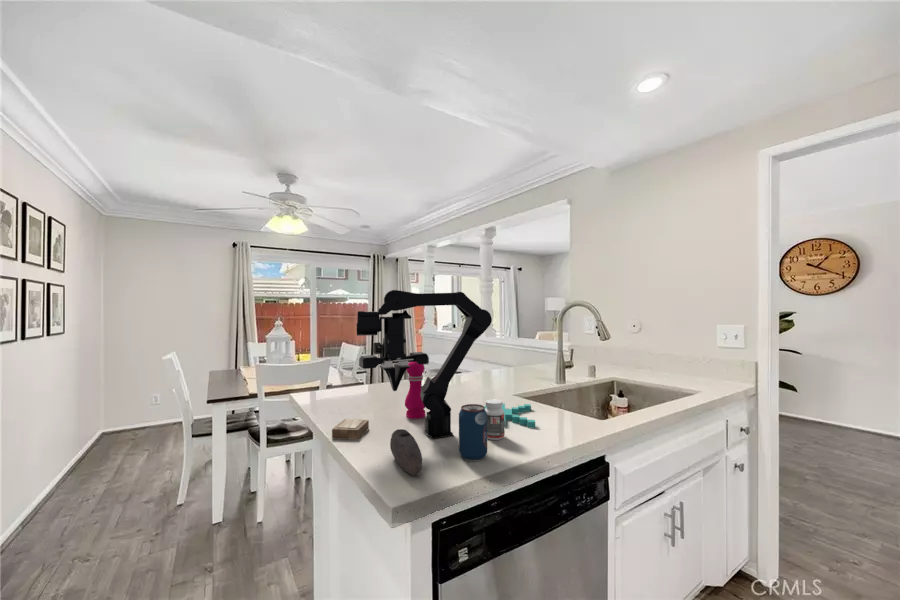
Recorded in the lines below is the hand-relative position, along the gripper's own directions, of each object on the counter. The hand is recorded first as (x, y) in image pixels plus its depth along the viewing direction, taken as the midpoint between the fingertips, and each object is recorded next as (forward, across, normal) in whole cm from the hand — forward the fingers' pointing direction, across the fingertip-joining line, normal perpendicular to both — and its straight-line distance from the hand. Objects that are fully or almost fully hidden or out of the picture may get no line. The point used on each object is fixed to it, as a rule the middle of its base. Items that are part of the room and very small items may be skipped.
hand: (394, 390), depth 107 cm
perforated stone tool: (+13, +3, +20) cm, 24 cm away
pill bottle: (+13, -25, +12) cm, 31 cm away
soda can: (+13, -13, +21) cm, 28 cm away
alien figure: (+14, -37, -3) cm, 40 cm away
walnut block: (+12, +7, -7) cm, 16 cm away
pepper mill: (+13, -12, -16) cm, 24 cm away
